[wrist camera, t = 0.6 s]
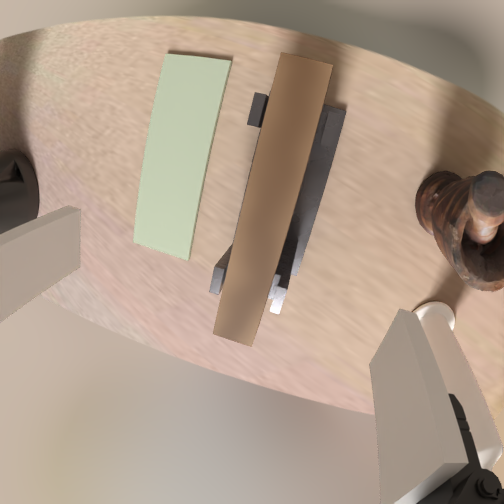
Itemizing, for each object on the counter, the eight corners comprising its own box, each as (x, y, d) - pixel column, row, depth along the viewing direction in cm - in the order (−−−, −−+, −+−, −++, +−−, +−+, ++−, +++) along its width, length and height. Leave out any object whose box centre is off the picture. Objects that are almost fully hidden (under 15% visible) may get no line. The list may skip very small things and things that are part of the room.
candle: (461, 322, 35) (533, 475, 12) (422, 354, 38) (463, 515, 15) (436, 290, 34) (517, 457, 11) (394, 326, 37) (432, 505, 14)
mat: (135, 240, 40) (133, 242, 40) (167, 54, 31) (165, 53, 30) (189, 259, 39) (187, 260, 39) (232, 62, 30) (230, 60, 29)
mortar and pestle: (373, 211, 33) (427, 303, 15) (401, 139, 29) (497, 150, 11) (455, 250, 32) (541, 351, 14) (483, 184, 29) (599, 241, 10)
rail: (223, 313, 29) (212, 333, 26) (286, 63, 21) (281, 52, 17) (259, 324, 29) (251, 346, 26) (331, 74, 20) (333, 65, 17)
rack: (231, 253, 38) (195, 302, 27) (271, 91, 30) (246, 69, 20) (296, 273, 37) (285, 331, 26) (345, 111, 30) (359, 99, 19)
